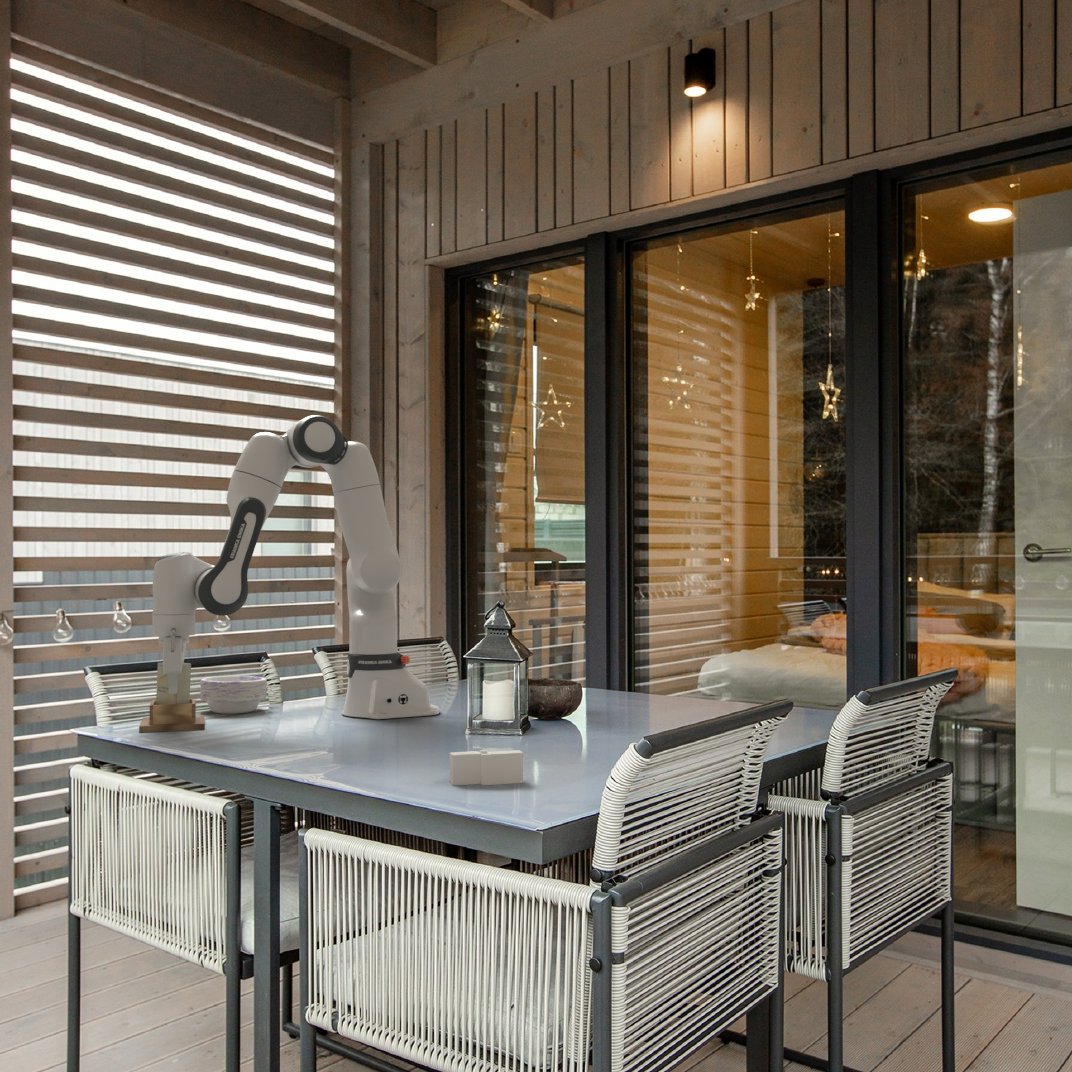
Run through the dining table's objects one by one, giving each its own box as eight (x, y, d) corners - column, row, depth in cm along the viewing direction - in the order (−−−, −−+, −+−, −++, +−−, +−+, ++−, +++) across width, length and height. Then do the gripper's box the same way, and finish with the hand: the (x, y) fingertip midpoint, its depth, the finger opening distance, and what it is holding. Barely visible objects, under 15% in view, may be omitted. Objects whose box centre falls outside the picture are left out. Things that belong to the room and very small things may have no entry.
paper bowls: (276, 707, 257) (276, 674, 257) (251, 717, 242) (251, 682, 242) (217, 706, 259) (217, 673, 259) (188, 715, 244) (188, 681, 244)
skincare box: (154, 719, 228) (155, 662, 229) (171, 716, 232) (172, 661, 232) (174, 721, 225) (175, 664, 225) (191, 718, 229) (191, 662, 229)
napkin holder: (539, 781, 175) (539, 747, 175) (511, 796, 164) (511, 759, 164) (457, 774, 180) (457, 741, 181) (426, 788, 170) (426, 752, 170)
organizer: (204, 720, 237) (204, 696, 237) (204, 729, 224) (204, 704, 224) (142, 722, 233) (143, 699, 233) (139, 732, 220) (139, 707, 220)
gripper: (188, 630, 220) (188, 696, 220) (190, 624, 239) (189, 685, 239) (156, 630, 218) (155, 698, 218) (160, 624, 238) (160, 686, 237)
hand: (173, 691), depth 229 cm, fingers closed on skincare box, 7 cm apart
